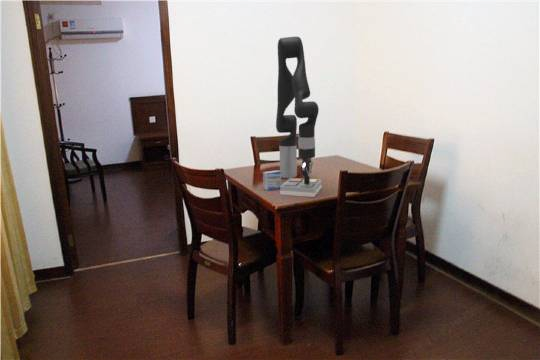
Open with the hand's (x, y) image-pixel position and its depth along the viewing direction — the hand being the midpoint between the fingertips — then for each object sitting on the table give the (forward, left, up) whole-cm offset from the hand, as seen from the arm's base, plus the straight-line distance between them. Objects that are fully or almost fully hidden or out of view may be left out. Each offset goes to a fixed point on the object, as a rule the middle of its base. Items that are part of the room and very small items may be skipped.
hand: (306, 183), depth 185 cm
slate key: (0, -7, -2) cm, 8 cm away
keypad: (-4, -4, -5) cm, 7 cm away
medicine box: (-5, -19, -5) cm, 20 cm away
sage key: (0, 0, -2) cm, 2 cm away
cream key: (-8, 0, -2) cm, 8 cm away
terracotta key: (-8, -7, -2) cm, 11 cm away
